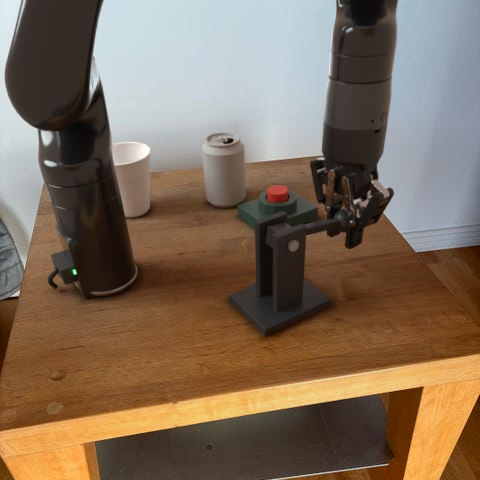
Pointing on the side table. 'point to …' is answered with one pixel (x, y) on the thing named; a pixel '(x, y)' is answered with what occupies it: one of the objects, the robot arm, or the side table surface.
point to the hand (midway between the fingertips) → (343, 240)
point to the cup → (133, 176)
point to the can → (224, 169)
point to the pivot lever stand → (279, 280)
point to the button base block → (278, 209)
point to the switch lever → (312, 226)
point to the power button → (277, 194)
